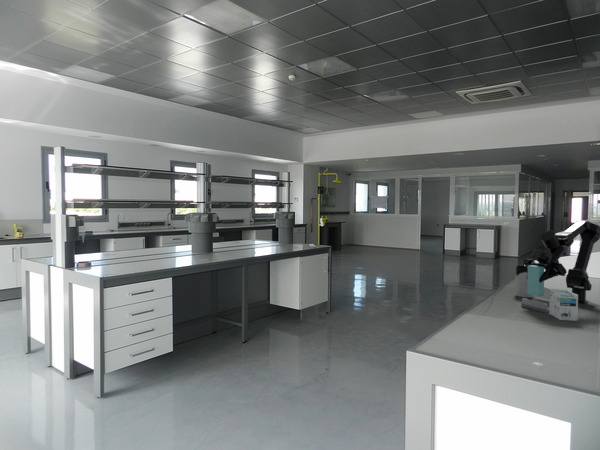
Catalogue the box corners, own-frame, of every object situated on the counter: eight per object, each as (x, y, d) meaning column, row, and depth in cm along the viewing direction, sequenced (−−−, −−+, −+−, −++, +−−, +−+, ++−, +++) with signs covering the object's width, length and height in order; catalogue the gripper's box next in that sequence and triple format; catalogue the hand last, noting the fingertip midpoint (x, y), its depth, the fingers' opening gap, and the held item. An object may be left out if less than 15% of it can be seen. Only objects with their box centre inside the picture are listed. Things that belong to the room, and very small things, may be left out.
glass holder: (515, 296, 203) (516, 267, 203) (511, 291, 216) (512, 264, 216) (534, 297, 200) (535, 268, 199) (530, 292, 213) (530, 264, 212)
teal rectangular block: (527, 293, 181) (527, 265, 181) (532, 293, 182) (532, 265, 182) (538, 296, 176) (539, 267, 175) (543, 295, 176) (544, 267, 176)
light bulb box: (578, 321, 157) (579, 294, 156) (559, 320, 158) (560, 293, 158) (565, 314, 167) (566, 289, 167) (548, 313, 168) (549, 288, 168)
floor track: (521, 306, 181) (521, 298, 181) (536, 305, 184) (536, 297, 184) (545, 312, 170) (545, 304, 170) (560, 311, 172) (560, 302, 172)
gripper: (526, 241, 188) (507, 265, 185) (562, 245, 170) (542, 271, 167) (538, 257, 191) (519, 281, 188) (575, 262, 173) (555, 288, 170)
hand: (533, 280), depth 178 cm, fingers closed on teal rectangular block, 6 cm apart
